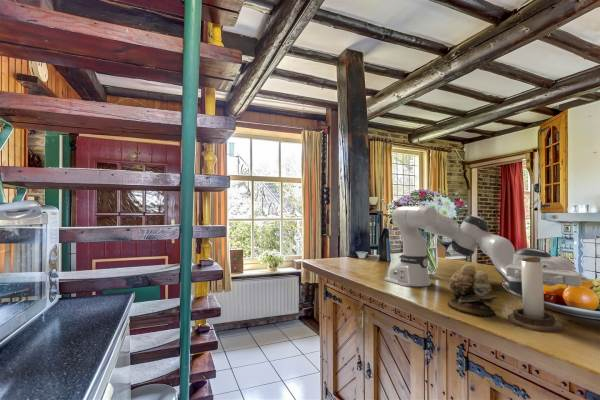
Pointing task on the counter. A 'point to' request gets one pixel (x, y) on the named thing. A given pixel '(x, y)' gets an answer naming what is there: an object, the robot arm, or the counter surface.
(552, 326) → the groove tray
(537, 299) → the off-white tall cylinder
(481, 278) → the owl figurine
